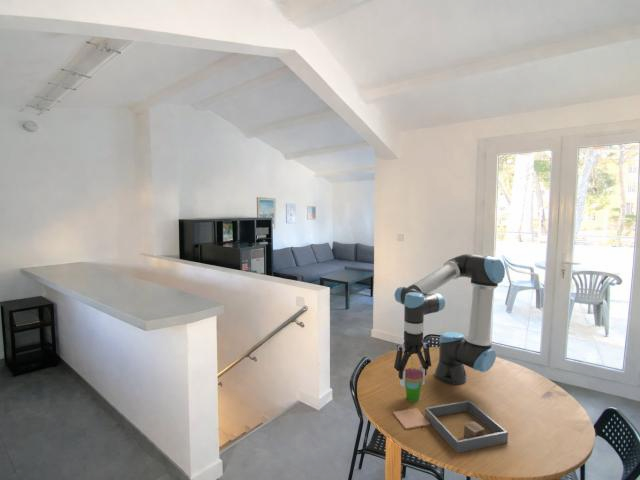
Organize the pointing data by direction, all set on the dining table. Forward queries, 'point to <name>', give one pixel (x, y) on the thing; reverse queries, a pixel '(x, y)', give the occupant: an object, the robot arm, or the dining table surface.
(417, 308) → the robot arm
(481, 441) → the corral
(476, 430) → the tan cube
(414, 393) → the cup
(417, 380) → the cupcake
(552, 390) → the dining table surface
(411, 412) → the plate
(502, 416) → the dining table surface
